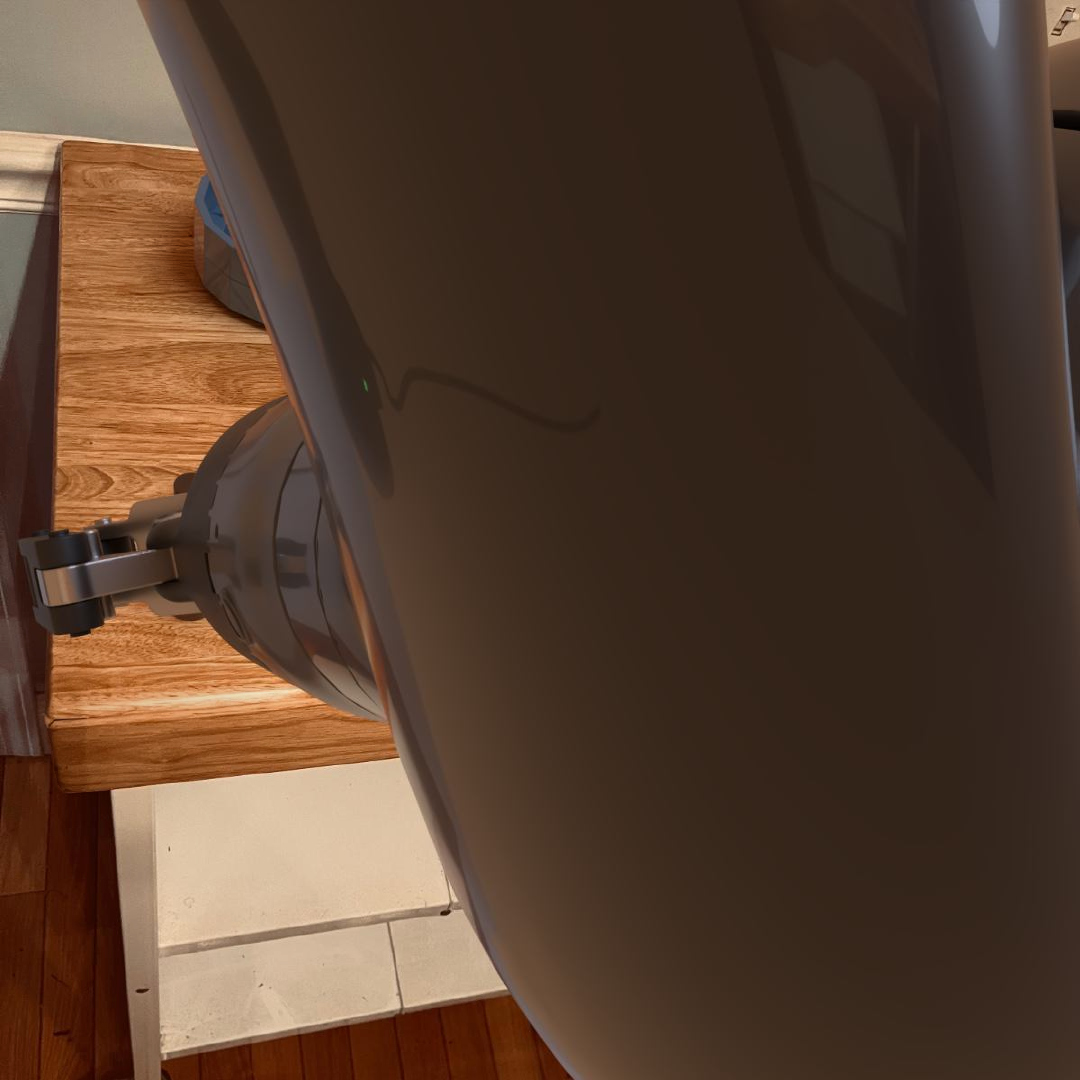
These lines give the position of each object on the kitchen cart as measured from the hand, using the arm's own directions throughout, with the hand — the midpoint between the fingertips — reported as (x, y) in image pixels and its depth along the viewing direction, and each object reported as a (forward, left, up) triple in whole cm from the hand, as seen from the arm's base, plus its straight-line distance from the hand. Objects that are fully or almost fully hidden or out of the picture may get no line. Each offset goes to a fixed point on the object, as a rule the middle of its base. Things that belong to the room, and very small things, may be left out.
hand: (238, 530), depth 38 cm
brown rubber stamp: (+4, +8, -16) cm, 19 cm away
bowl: (+27, +28, -16) cm, 42 cm away
